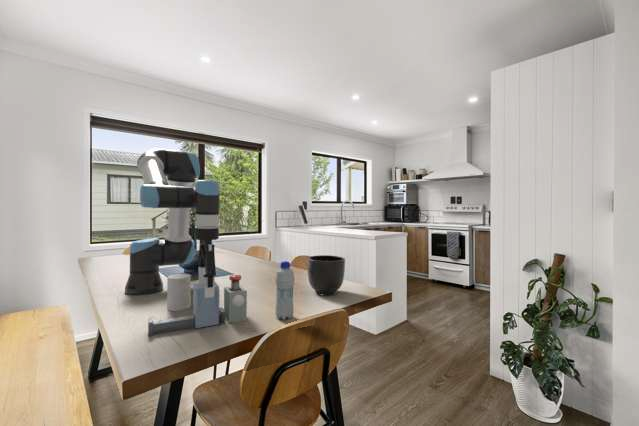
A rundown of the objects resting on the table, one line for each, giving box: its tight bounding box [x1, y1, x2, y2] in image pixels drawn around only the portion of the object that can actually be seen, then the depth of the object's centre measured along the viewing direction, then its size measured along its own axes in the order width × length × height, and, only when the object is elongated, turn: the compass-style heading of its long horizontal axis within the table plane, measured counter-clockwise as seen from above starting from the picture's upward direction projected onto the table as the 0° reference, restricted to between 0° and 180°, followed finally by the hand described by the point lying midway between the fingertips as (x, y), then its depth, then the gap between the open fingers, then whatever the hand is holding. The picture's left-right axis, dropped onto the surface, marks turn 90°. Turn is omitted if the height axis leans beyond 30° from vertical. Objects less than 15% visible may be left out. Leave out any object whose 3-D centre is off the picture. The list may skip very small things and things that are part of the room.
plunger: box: [229, 274, 242, 291], centre depth 108 cm, size 4×4×8 cm
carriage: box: [192, 281, 220, 329], centre depth 102 cm, size 8×7×13 cm
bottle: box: [275, 260, 295, 321], centre depth 109 cm, size 7×7×20 cm
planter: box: [307, 254, 346, 296], centre depth 141 cm, size 17×17×16 cm
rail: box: [147, 306, 226, 337], centre depth 99 cm, size 5×22×4 cm, turn 119°
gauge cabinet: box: [223, 285, 248, 323], centre depth 108 cm, size 8×6×10 cm
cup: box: [166, 273, 192, 312], centre depth 118 cm, size 8×8×12 cm
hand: (205, 291), depth 102 cm, fingers open, 13 cm apart
